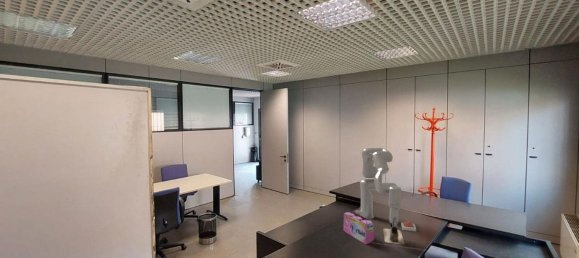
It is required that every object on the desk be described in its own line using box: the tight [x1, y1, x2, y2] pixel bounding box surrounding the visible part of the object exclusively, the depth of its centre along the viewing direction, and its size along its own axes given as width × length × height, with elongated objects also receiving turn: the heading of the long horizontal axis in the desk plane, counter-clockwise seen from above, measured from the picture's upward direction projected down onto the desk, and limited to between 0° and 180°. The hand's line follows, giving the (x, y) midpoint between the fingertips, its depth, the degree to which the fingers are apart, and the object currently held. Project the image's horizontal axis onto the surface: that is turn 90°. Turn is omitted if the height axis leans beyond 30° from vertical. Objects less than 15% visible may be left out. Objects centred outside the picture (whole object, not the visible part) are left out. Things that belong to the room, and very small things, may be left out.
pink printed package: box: [343, 210, 375, 245], centre depth 178 cm, size 24×8×14 cm, turn 28°
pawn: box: [390, 227, 399, 242], centre depth 169 cm, size 5×5×9 cm
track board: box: [382, 228, 405, 245], centre depth 176 cm, size 12×22×1 cm, turn 163°
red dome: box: [404, 220, 413, 228], centre depth 188 cm, size 5×5×6 cm
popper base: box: [400, 221, 417, 232], centre depth 188 cm, size 9×9×3 cm
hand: (393, 230), depth 169 cm, fingers open, 9 cm apart
